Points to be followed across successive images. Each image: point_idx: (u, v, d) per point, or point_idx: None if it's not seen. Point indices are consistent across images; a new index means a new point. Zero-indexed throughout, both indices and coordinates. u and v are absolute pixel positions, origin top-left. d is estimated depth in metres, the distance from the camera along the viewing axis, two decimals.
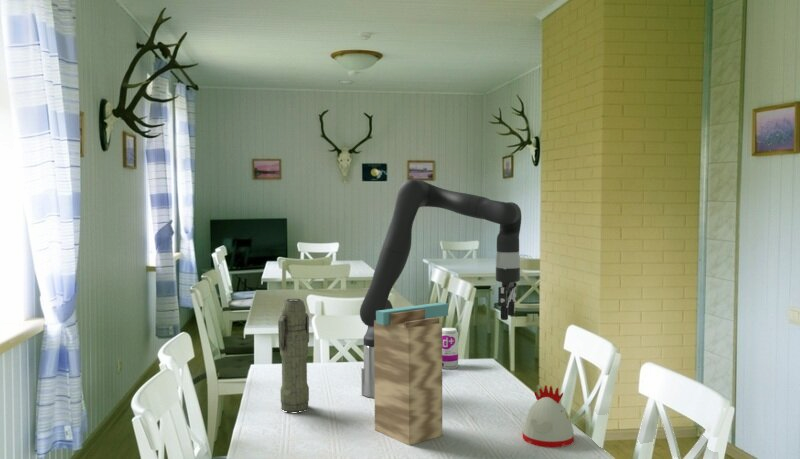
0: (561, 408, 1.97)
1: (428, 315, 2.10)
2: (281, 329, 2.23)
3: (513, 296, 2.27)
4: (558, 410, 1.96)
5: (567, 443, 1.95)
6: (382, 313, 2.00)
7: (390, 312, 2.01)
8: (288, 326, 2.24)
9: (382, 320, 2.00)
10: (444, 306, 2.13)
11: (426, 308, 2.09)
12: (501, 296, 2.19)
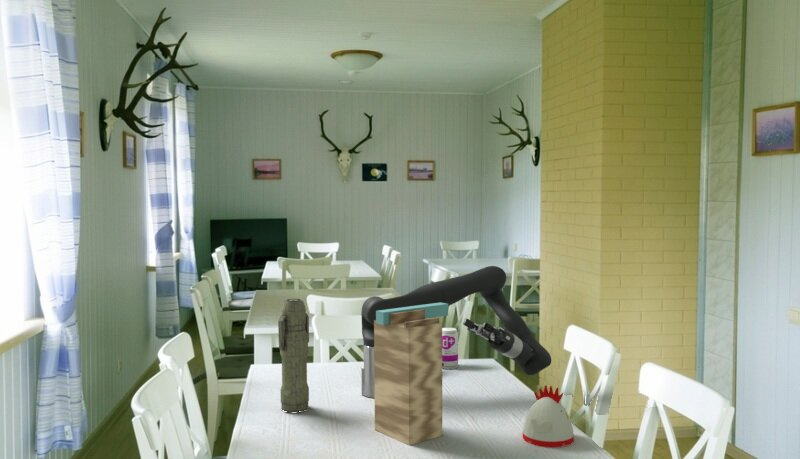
0: (561, 408, 1.97)
1: (428, 315, 2.10)
2: (281, 329, 2.23)
3: (480, 333, 2.29)
4: (558, 410, 1.96)
5: (567, 443, 1.95)
6: (382, 313, 2.00)
7: (390, 312, 2.01)
8: (288, 326, 2.24)
9: (382, 320, 2.00)
10: (444, 306, 2.13)
11: (426, 308, 2.09)
12: (505, 335, 2.22)
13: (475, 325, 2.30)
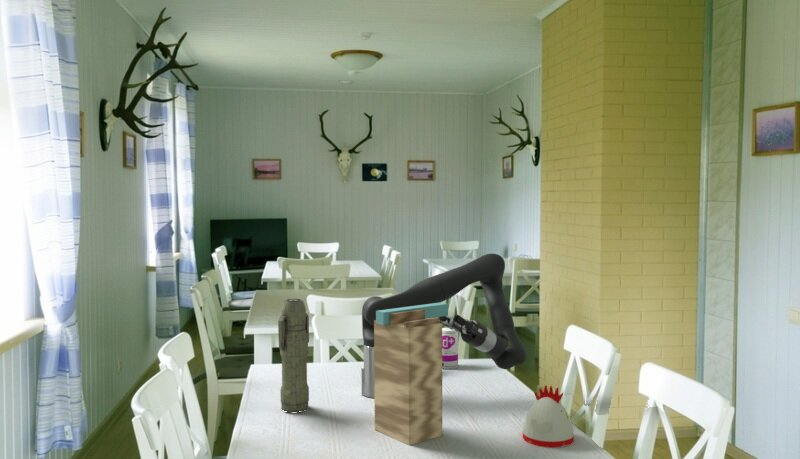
0: (561, 408, 1.97)
1: (428, 315, 2.10)
2: (281, 329, 2.23)
3: (451, 326, 2.21)
4: (558, 410, 1.96)
5: (567, 443, 1.95)
6: (382, 313, 2.00)
7: (390, 312, 2.01)
8: (288, 326, 2.24)
9: (382, 320, 2.00)
10: (444, 306, 2.13)
11: (426, 308, 2.09)
12: (477, 328, 2.15)
13: (447, 318, 2.23)
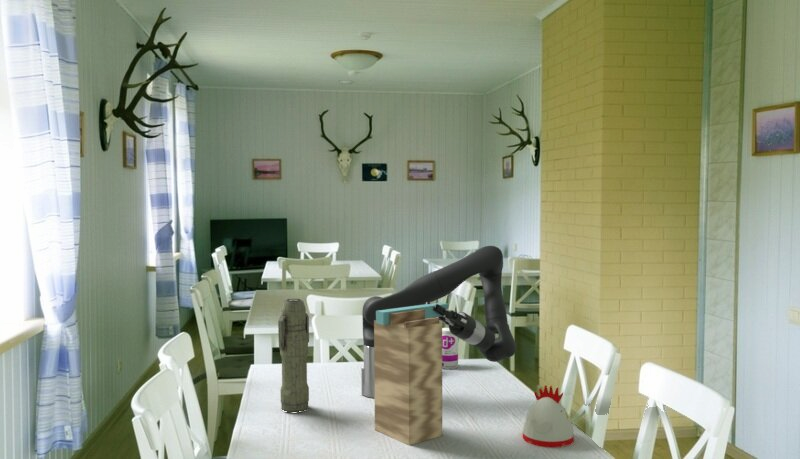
0: (561, 408, 1.97)
1: (428, 315, 2.10)
2: (281, 329, 2.23)
3: (441, 318, 2.17)
4: (558, 410, 1.96)
5: (567, 443, 1.95)
6: (382, 313, 2.00)
7: (390, 312, 2.01)
8: (288, 326, 2.24)
9: (382, 320, 2.00)
10: (443, 306, 2.13)
11: (426, 308, 2.09)
12: (459, 317, 2.12)
13: None
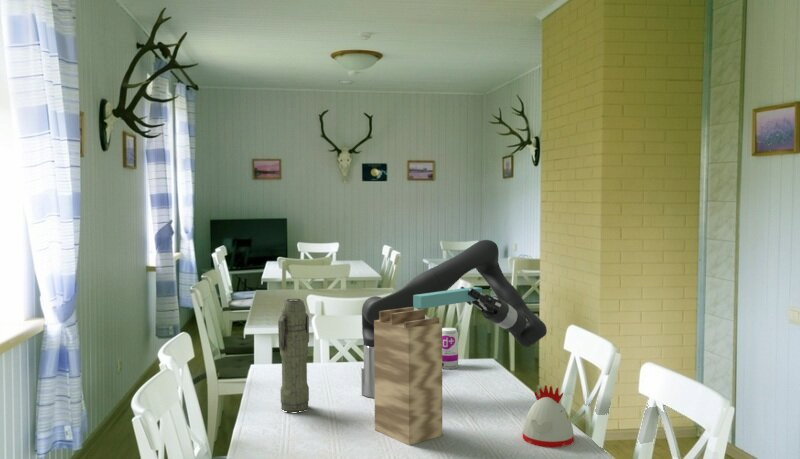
0: (561, 408, 1.97)
1: (463, 300, 2.13)
2: (281, 329, 2.23)
3: (475, 303, 2.20)
4: (558, 410, 1.96)
5: (567, 443, 1.95)
6: (420, 297, 2.03)
7: (427, 296, 2.04)
8: (288, 326, 2.24)
9: (420, 304, 2.03)
10: (478, 290, 2.16)
11: (461, 292, 2.12)
12: (493, 301, 2.15)
13: None
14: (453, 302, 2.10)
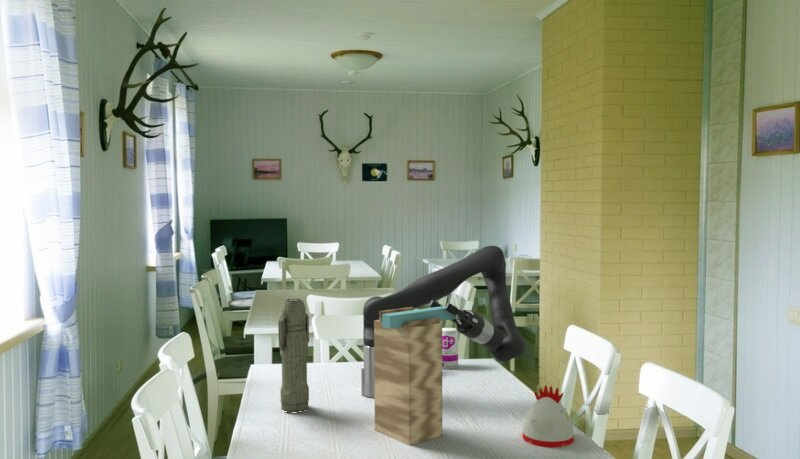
0: (561, 408, 1.97)
1: None
2: (281, 329, 2.23)
3: None
4: (558, 410, 1.96)
5: (567, 443, 1.95)
6: (389, 317, 1.94)
7: (397, 316, 1.95)
8: (288, 326, 2.24)
9: (389, 324, 1.94)
10: None
11: (434, 311, 2.03)
12: (471, 317, 2.06)
13: None
14: None
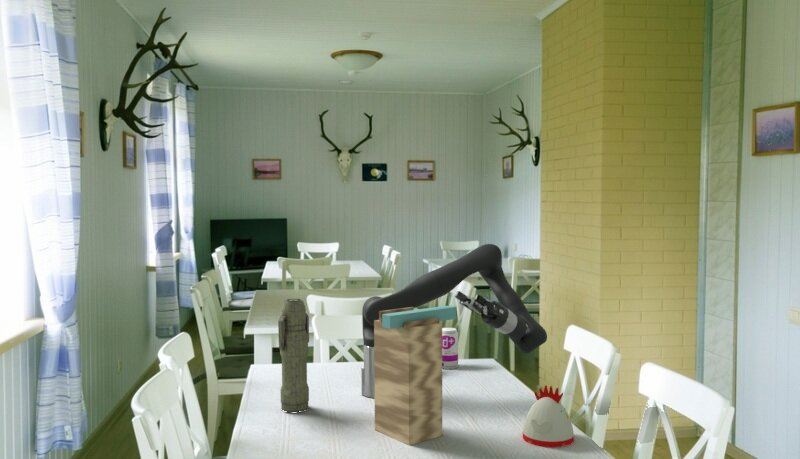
0: (561, 408, 1.97)
1: None
2: (281, 329, 2.23)
3: (472, 307, 2.19)
4: (558, 410, 1.96)
5: (567, 443, 1.95)
6: (389, 317, 1.94)
7: (397, 316, 1.95)
8: (288, 326, 2.24)
9: (389, 324, 1.94)
10: (452, 309, 2.07)
11: (434, 311, 2.03)
12: (498, 308, 2.12)
13: (468, 298, 2.20)
14: None
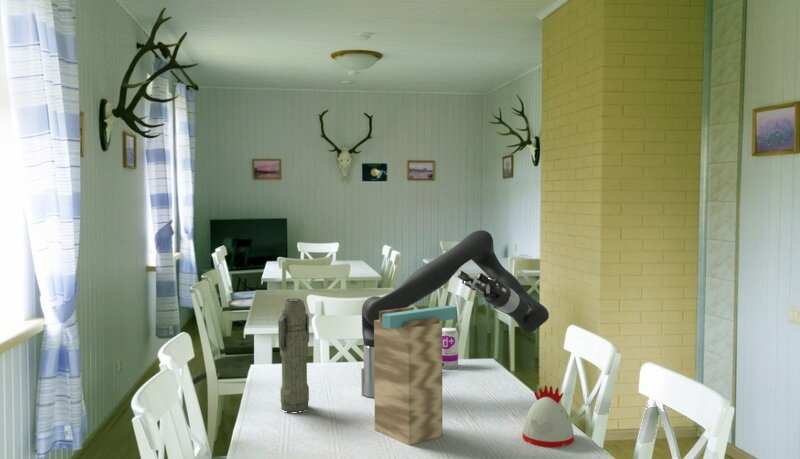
0: (561, 408, 1.97)
1: None
2: (281, 329, 2.23)
3: (475, 286, 2.21)
4: (558, 410, 1.96)
5: (567, 443, 1.95)
6: (389, 317, 1.94)
7: (397, 316, 1.95)
8: (288, 326, 2.24)
9: (389, 324, 1.94)
10: (452, 309, 2.07)
11: (434, 311, 2.03)
12: (501, 287, 2.14)
13: (470, 278, 2.23)
14: None
